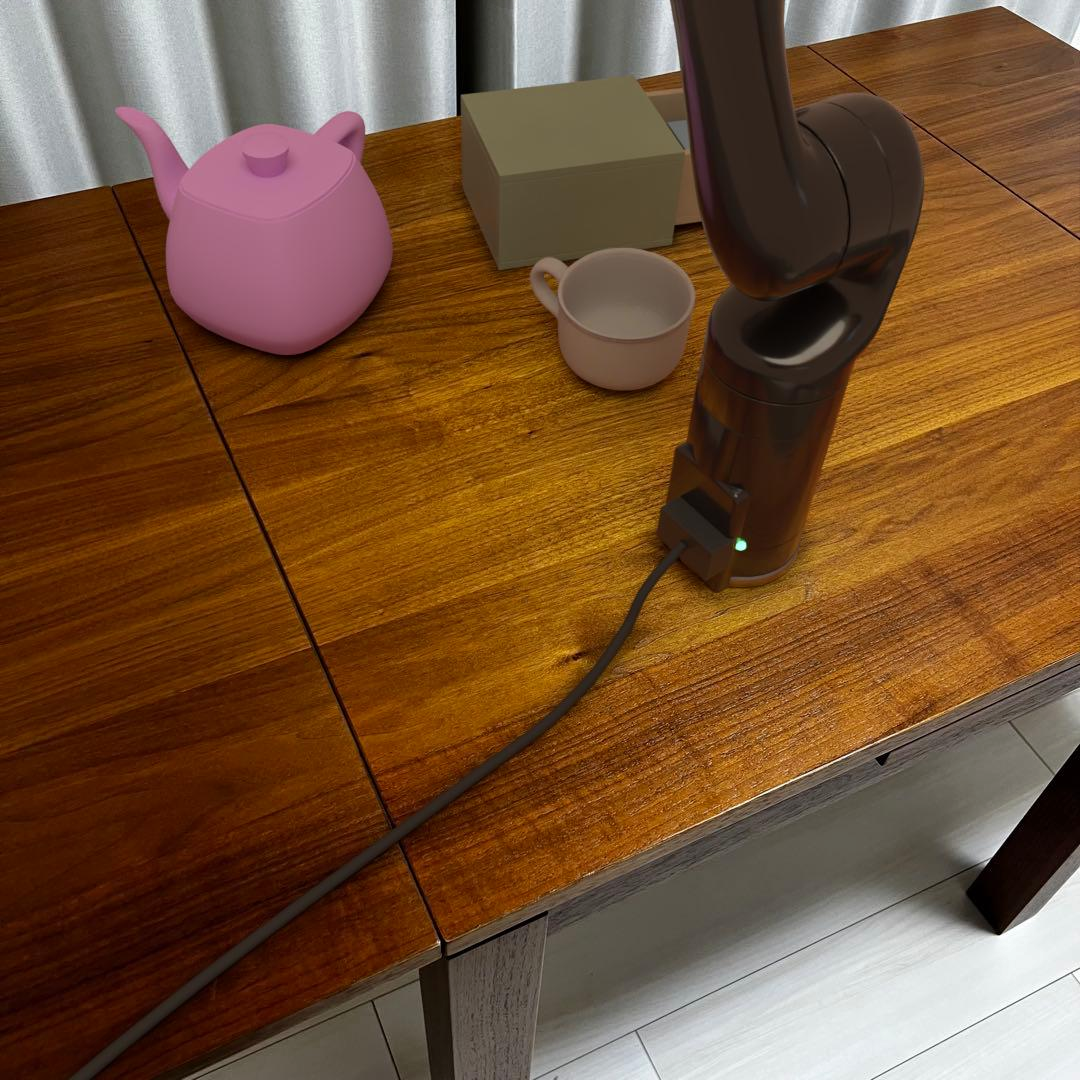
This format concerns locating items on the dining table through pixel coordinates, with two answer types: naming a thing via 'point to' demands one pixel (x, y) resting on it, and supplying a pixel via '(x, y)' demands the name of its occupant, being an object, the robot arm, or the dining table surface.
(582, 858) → the dining table surface
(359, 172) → the teapot
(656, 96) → the drawer
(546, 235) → the cabinet
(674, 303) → the teacup
